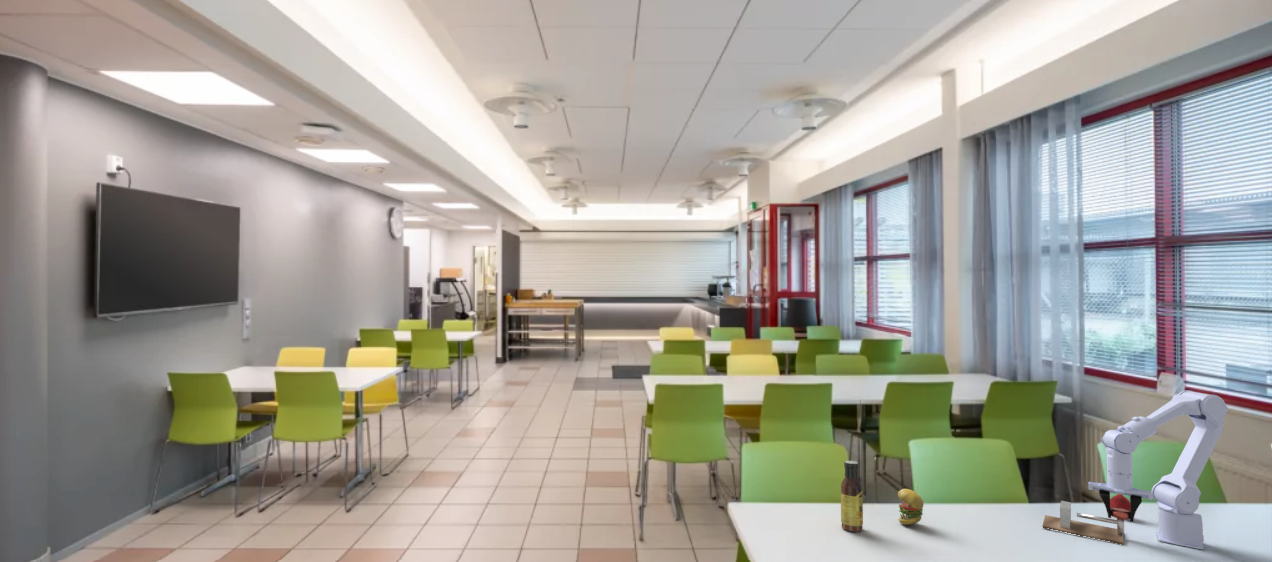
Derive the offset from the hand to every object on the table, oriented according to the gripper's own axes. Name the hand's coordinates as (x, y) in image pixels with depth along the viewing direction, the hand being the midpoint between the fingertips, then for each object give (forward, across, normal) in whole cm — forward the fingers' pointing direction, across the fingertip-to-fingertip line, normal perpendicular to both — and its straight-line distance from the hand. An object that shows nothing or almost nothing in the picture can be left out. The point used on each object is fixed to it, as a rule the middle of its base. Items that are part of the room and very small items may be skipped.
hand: (1120, 519), depth 171 cm
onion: (+6, 0, +22) cm, 23 cm away
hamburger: (+6, -50, -29) cm, 59 cm away
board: (+6, -9, 0) cm, 11 cm away
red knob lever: (+4, -4, 0) cm, 6 cm away
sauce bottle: (+6, -64, -44) cm, 77 cm away
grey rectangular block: (+6, -13, 0) cm, 14 cm away
